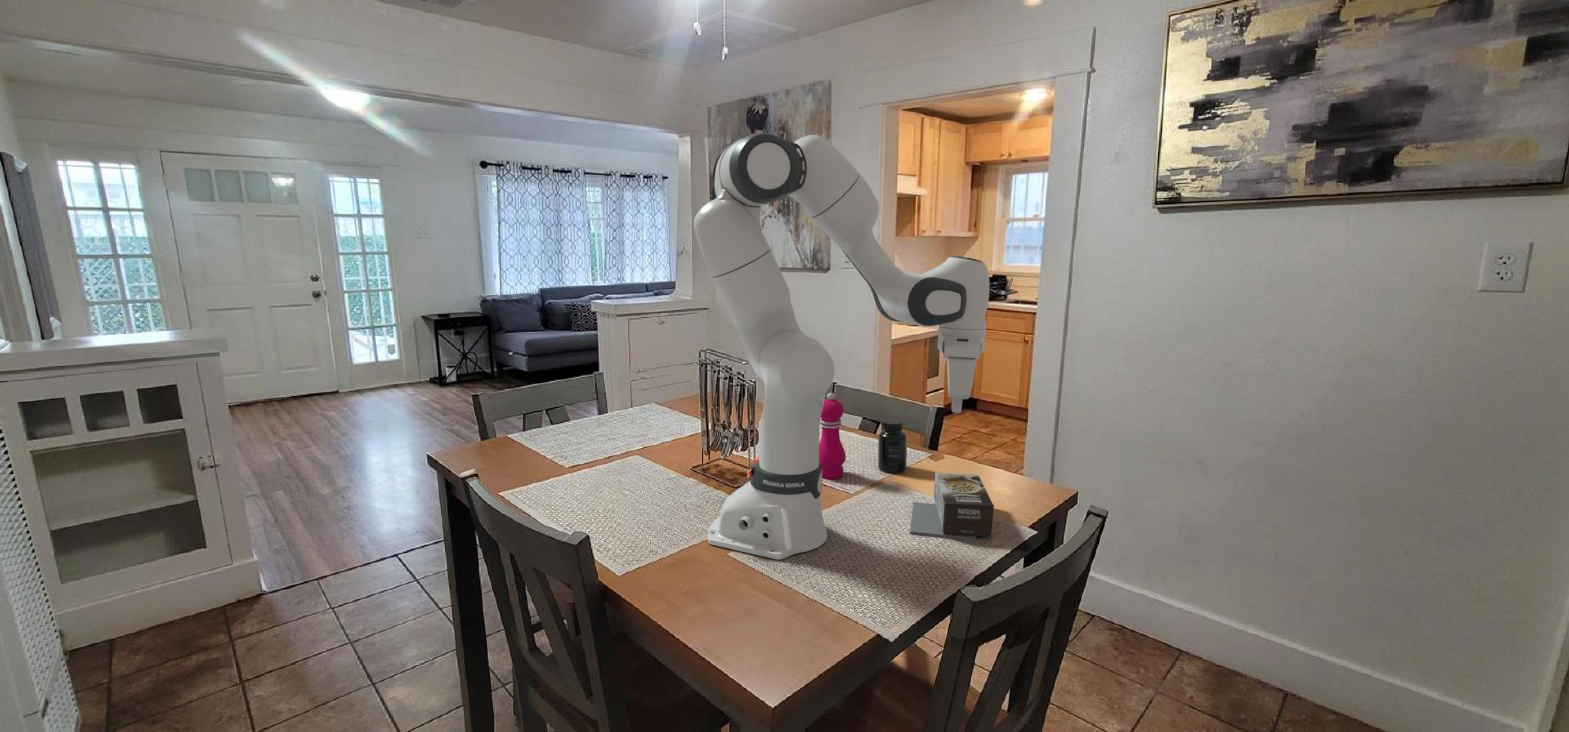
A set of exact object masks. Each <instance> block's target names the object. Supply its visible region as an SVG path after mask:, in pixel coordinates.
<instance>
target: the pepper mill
mask: <svg viewBox="0 0 1569 732" xmlns="http://www.w3.org/2000/svg"><path fill="white" fill-rule="evenodd" d="M826 397H827V399H824V404H823V408H822V413H821V418H820V427H821V437H820V439H819V462H820V464H821V472H822V479H826V480H836V479H841V478H842V477H843V476H844V466H843V465H844V463H845V462H846V460H847V459H846V458H847V456H846V450H845V448H844V446H843V444H842V442H841V437H840V428H841V426H842V419H841V418H842V417H843V415H844V411H845V409H844V405H843V404H842V402H841V401H839V400H838V399H836V397H835V394H834V393H833V392H829V393H827V395H826Z"/></svg>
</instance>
